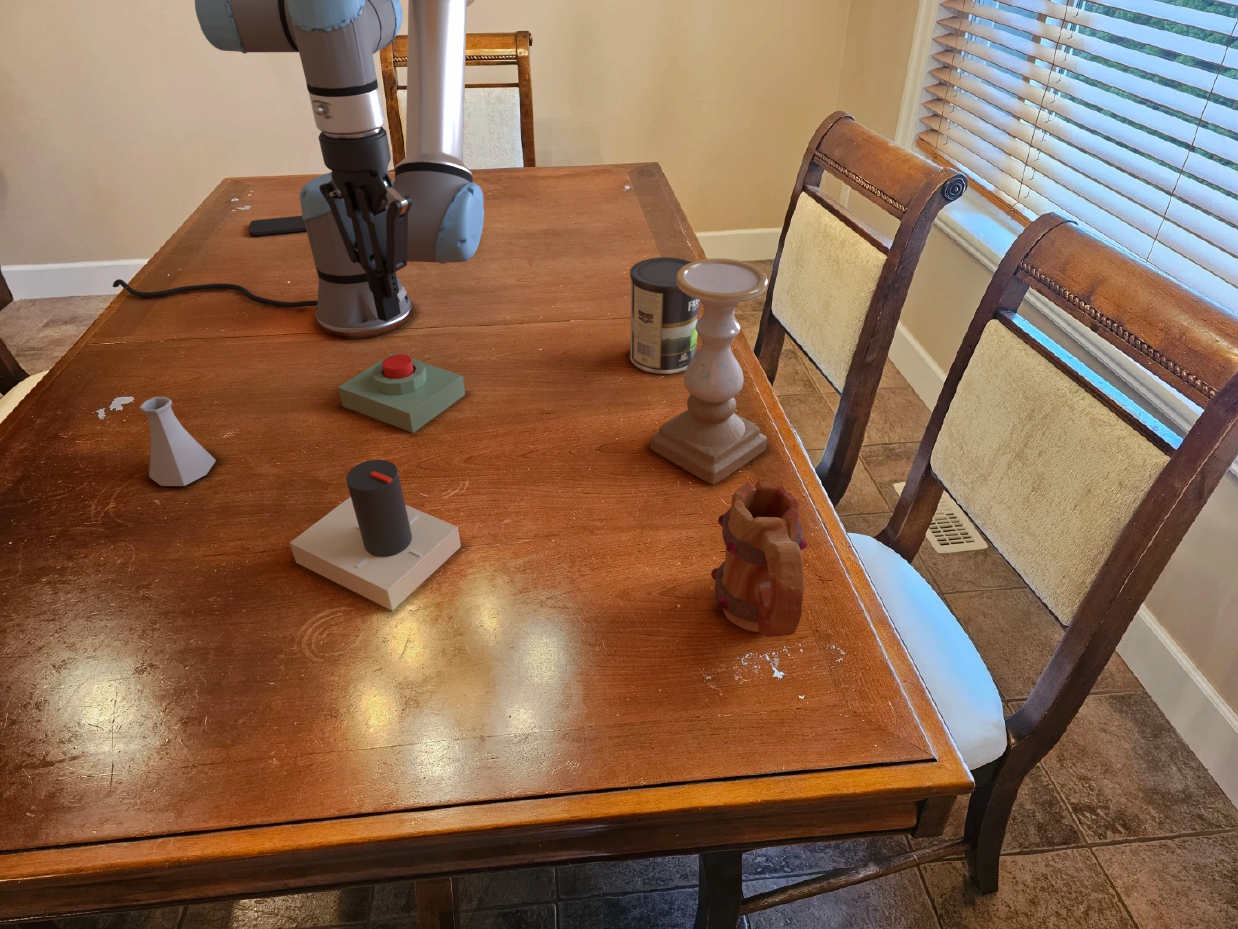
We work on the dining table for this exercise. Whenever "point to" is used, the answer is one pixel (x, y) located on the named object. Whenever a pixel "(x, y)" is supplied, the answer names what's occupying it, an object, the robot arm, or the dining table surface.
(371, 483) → the knob
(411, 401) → the block
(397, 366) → the power button
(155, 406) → the flask
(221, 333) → the dining table surface
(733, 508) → the mug
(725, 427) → the candle holder
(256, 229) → the phone
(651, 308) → the coffee can
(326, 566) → the dial panel
